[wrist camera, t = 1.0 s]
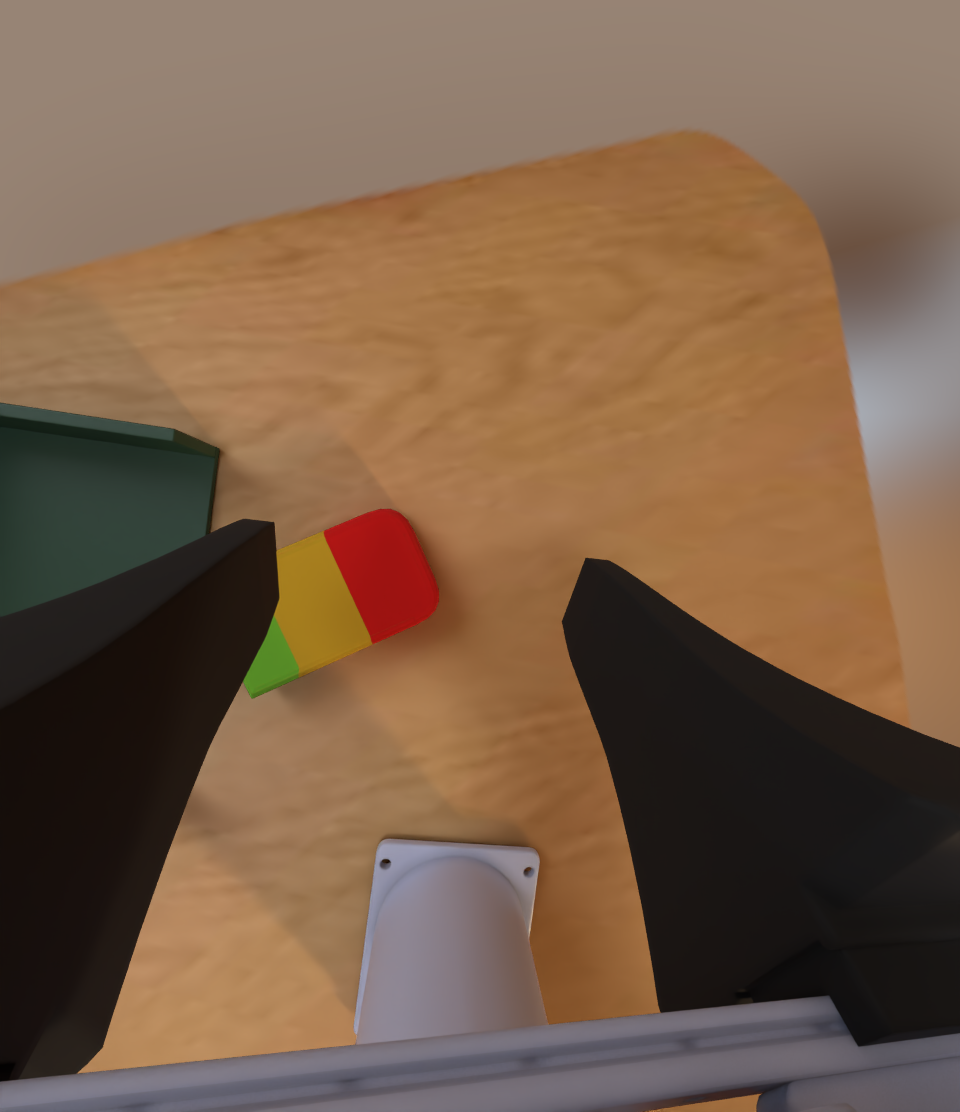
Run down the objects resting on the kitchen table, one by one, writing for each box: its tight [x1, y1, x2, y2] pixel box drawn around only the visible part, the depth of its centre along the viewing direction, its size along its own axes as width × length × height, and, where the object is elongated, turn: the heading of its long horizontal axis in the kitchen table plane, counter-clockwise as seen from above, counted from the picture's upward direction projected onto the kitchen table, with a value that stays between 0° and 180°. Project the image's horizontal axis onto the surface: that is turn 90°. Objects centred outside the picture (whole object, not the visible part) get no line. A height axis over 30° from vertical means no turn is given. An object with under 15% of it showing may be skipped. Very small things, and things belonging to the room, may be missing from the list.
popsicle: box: [243, 509, 439, 699], centre depth 19 cm, size 6×15×2 cm, turn 113°
